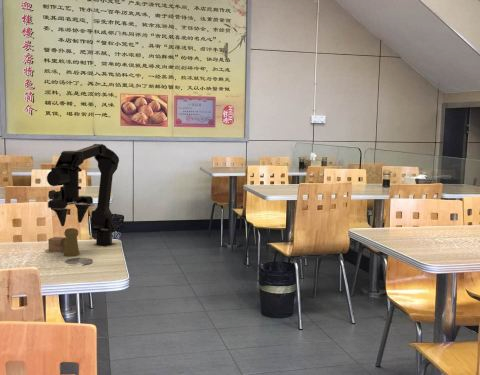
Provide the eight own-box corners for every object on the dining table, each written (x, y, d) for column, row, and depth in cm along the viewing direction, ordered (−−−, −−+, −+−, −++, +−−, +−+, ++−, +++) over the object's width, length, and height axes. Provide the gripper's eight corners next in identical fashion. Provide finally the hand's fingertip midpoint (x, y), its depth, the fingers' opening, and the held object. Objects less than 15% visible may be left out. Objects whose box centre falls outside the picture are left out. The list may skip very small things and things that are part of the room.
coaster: (57, 248, 220) (57, 246, 220) (76, 251, 216) (76, 249, 216) (38, 252, 211) (38, 251, 211) (58, 255, 207) (57, 254, 207)
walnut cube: (55, 248, 216) (54, 236, 216) (66, 249, 215) (66, 237, 215) (48, 251, 211) (48, 239, 211) (60, 252, 210) (60, 239, 210)
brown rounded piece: (74, 258, 203) (74, 230, 202) (60, 257, 204) (60, 229, 203) (82, 255, 209) (82, 227, 208) (68, 254, 210) (68, 226, 209)
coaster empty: (77, 258, 204) (77, 256, 204) (98, 261, 200) (98, 259, 200) (58, 263, 195) (58, 262, 195) (80, 267, 191) (80, 265, 191)
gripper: (71, 180, 215) (72, 219, 217) (36, 184, 198) (37, 225, 200) (93, 182, 211) (93, 221, 212) (59, 186, 194) (59, 228, 195)
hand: (71, 224), depth 205 cm, fingers open, 9 cm apart
